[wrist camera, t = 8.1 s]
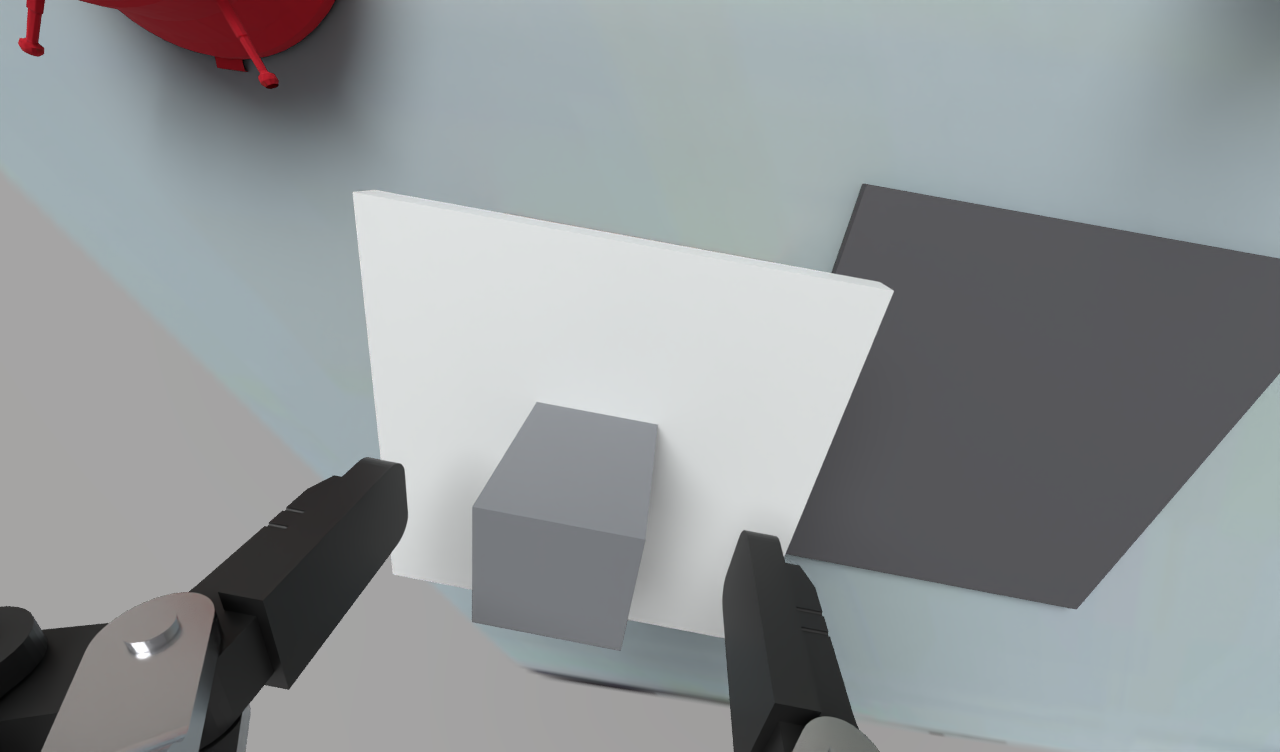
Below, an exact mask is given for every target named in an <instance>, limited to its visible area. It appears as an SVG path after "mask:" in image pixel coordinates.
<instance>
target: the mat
mask: <svg viewBox="0 0 1280 752" xmlns="http://www.w3.org/2000/svg"><path fill="white" fill-rule="evenodd" d="M832 273H833V274H839V275H844V276H850V277H855V278H861V279H866V280H872V281H877V282H881V283H882V284H884V285H886V286H887V287H889V288H890V289H892V290H893V291H894V292H893V295H892V297H891V300H890V302H889V304H888V307H887V309H886V312H885V314H884V317H883V319H882V321H881V324H880V326H879V329H878V331H877V333H876V336H875V338H874V341H873V343H872V346H871V348H870V350H869V353H868V355H867V358H866V360H865V363H864V365H863V367H862V370H861V372H860V375H859V377H858V379H857V382H856V384H855V387H854V389H853V392H852V394H851V396H850V399H849V401H848V404H847V406H846V408H845V411H844V413H843V416H842V418H841V421H840V423H839V425H838V428H837V430H836V433H835V435H834V438H833V440H832V442H831V445H830V447H829V450H828V452H827V454H826V457H825V459H824V462H823V464H822V467H821V469H820V471H819V474H818V476H817V479H816V481H815V484H814V486H813V488H812V491H811V493H810V496H809V498H808V500H807V503H806V505H805V508H804V510H803V513H802V515H801V517H800V520H799V522H798V525H797V527H796V529H795V532H794V534H793V537H792V539H791V542H790V544H789V546H788V549H787V551H786V554H789V555H794V556H800V557H805V558H810V559H815V560H821V561H826V562H831V563H836V564H842V565H847V566H852V567H857V568H863V569H868V570H873V571H878V572H883V573H889V574H894V575H899V576H904V577H910V578H915V579H920V580H925V581H931V582H936V583H941V584H946V585H952V586H957V587H962V588H967V589H973V590H978V591H983V592H988V593H994V594H999V595H1004V596H1009V597H1015V598H1020V599H1025V600H1030V601H1035V602H1041V603H1046V604H1051V605H1056V606H1062V607H1067V608H1072V609H1077V608H1078V607H1079V606H1080V605H1081V604H1082V602H1083V601H1084V600H1085V599H1086V598H1087V597H1088V596H1089V594H1090V593H1091V592H1092V591H1093V590H1094V589H1095V587H1096V586H1097V585H1098V584H1099V583H1100V582H1101V580H1102V579H1103V578H1104V577H1105V576H1106V575H1107V573H1108V572H1109V571H1110V570H1111V569H1112V568H1113V566H1114V565H1115V564H1116V563H1117V562H1118V561H1119V559H1120V558H1121V557H1122V556H1123V555H1124V554H1125V552H1126V551H1127V550H1128V549H1129V548H1130V547H1131V545H1132V544H1133V543H1134V542H1135V541H1136V540H1137V539H1138V537H1139V536H1140V535H1141V534H1142V533H1143V532H1144V530H1145V529H1146V528H1147V527H1148V526H1149V525H1150V523H1151V522H1152V521H1153V520H1154V519H1155V518H1156V516H1157V515H1158V514H1159V513H1160V512H1161V511H1162V509H1163V508H1164V507H1165V506H1166V505H1167V504H1168V502H1169V501H1170V500H1171V499H1172V498H1173V497H1174V495H1175V494H1176V493H1177V492H1178V491H1179V490H1180V489H1181V487H1182V486H1183V485H1184V484H1185V483H1186V482H1187V480H1188V479H1189V478H1190V477H1191V476H1192V475H1193V473H1194V472H1195V471H1196V470H1197V469H1198V468H1199V466H1200V465H1201V464H1202V463H1203V462H1204V461H1205V459H1206V458H1207V457H1208V456H1209V455H1210V454H1211V452H1212V451H1213V450H1214V449H1215V448H1216V447H1217V445H1218V444H1219V443H1220V442H1221V441H1222V440H1223V438H1224V437H1225V436H1226V435H1227V434H1228V433H1229V432H1230V430H1231V429H1232V428H1233V427H1234V426H1235V425H1236V423H1237V422H1238V421H1239V420H1240V419H1241V418H1242V416H1243V415H1244V414H1245V413H1246V412H1247V411H1248V409H1249V408H1250V407H1251V406H1252V405H1253V404H1254V402H1255V401H1256V400H1257V399H1258V398H1259V397H1260V395H1261V394H1262V393H1263V392H1264V391H1265V390H1266V388H1267V387H1268V386H1269V385H1270V384H1271V383H1272V382H1273V380H1274V379H1275V378H1276V377H1277V376H1278V375H1279V373H1280V259H1278V258H1272V257H1267V256H1261V255H1256V254H1250V253H1245V252H1239V251H1234V250H1228V249H1223V248H1217V247H1212V246H1206V245H1200V244H1195V243H1189V242H1184V241H1178V240H1173V239H1167V238H1162V237H1156V236H1151V235H1145V234H1139V233H1134V232H1128V231H1123V230H1117V229H1112V228H1106V227H1101V226H1095V225H1090V224H1084V223H1079V222H1073V221H1067V220H1062V219H1056V218H1051V217H1045V216H1040V215H1034V214H1029V213H1023V212H1018V211H1012V210H1006V209H1001V208H995V207H990V206H984V205H979V204H973V203H968V202H962V201H957V200H951V199H946V198H940V197H934V196H929V195H923V194H918V193H912V192H907V191H901V190H896V189H890V188H885V187H879V186H873V185H868V184H862V187H861V190H860V193H859V196H858V199H857V201H856V204H855V207H854V210H853V213H852V216H851V219H850V222H849V225H848V227H847V230H846V233H845V236H844V239H843V242H842V245H841V248H840V250H839V253H838V256H837V259H836V262H835V265H834V268H833V271H832Z"/></svg>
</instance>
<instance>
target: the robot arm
mask: <svg viewBox="0 0 1280 752" xmlns="http://www.w3.org/2000/svg"><path fill="white" fill-rule="evenodd" d="M407 521H408V506H407V493H406V481H405V470H404V467H403V465H402V464H400V463H396V462H390V461H385V460H380V459H375V458H369V457H366V458H363V459H361V460H360V461H359V462H358V463H356V464H355V465H354V466H353V467H352V468H351V469H350V470H349V471H348V472H347V473H346V474H345V475H343V476H342V477H339V476H332V477H330V478H328V479H326V480H324V481H322V482H320V483H318V484H316V485H314V486H312V487H310V488H308V489H307V490H306V491H304V492H303V493H302V494H301V495H300V496H299V497H298V498H296V499H295V500H294V501H293V502H292V503H291V504H290V505H288V506H287V508H286V510H285V511H282V512H281V513H279V514H278V515H277V516H276V517H275V518H274V519H272V520H271V521H270V522H269V525H268V526H267V527H266V526H264V527H263V528H262V529H261V530H260V531H259V532H258V533H256V534H255V535H254V536H253V537H252V538H251V539H249V540H248V541H247V542H246V543H245V544H244V545H243V546H241V547H240V548H239V549H238V550H237V551H236V552H234V553H233V554H232V555H231V556H230V557H229V558H228V559H226V560H225V561H224V562H223V563H222V564H221V565H220V566H218V567H217V568H216V569H215V570H214V571H213V572H212V573H211V574H209V575H208V576H207V577H206V578H205V579H204V580H202V581H201V582H200V583H199V584H198V585H197V586H195V587H194V588H193V589H192V590H190V591H189V592H183V593H173V594H169V595H164V596H161V597H157V598H154V599H151V600H149V601H146V602H144V603H142V604H140V605H137V606H135V607H133V608H131V609H130V610H128V611H126V612H124V613H123V614H121V615H120V616H118V617H117V618H115V619H114V620H113V621H111V622H110V623H106V624H96V625H85V626H75V627H66V628H56V629H46V630H41V628H40V627H39V625H38V624H37V622H36V621H35V619H34V617H33V616H32V614H31V613H30V612H29V611H27V610H26V609H23V608H19V607H10V606H8V607H7V606H6V607H0V752H246V744H247V736H248V729H249V721H250V709H251V708H250V705H249V703H250V702H251V701H252V700H253V698H254V697H255V696H256V695H257V693H258V692H259V691H260V690H261V688H262V687H263V686H264V685H268V686H273V687H278V688H283V689H288V690H289V689H290V687H291V686H292V685H293V683H294V682H295V681H296V679H297V678H298V677H299V675H300V674H301V673H302V671H303V670H304V669H305V667H306V666H307V665H308V663H309V662H310V661H311V659H312V658H313V657H314V655H315V654H316V653H317V651H318V650H319V649H320V647H321V646H322V645H323V643H324V642H325V641H326V639H327V638H328V637H329V635H330V634H331V633H332V631H333V630H334V629H335V627H336V626H337V625H338V623H339V622H340V621H341V619H342V618H343V616H344V615H345V614H346V613H347V611H348V610H349V609H350V607H351V606H352V605H353V603H354V602H355V601H356V599H357V598H358V597H359V595H360V594H361V592H362V591H363V590H364V589H365V587H366V586H367V585H368V583H369V582H370V581H371V579H372V578H373V577H374V575H375V574H376V573H377V571H378V570H379V569H380V567H381V566H382V565H383V563H384V562H385V560H386V559H387V558H388V557H389V555H390V554H391V553H392V551H393V550H394V549H395V547H396V546H397V544H398V543H399V542H400V540H401V538H402V536H403V534H404V531H405V529H406V525H407ZM722 609H723V622H724V634H725V647H726V659H727V672H728V684H729V697H730V709H731V720H732V734H733V746H734V752H879V750H878V749H877V747H876V746H875V745H874V744H873V743H872V742H871V740H870V739H868V737H867V736H866V735H865V734H863V733H862V732H861V731H860V730H859V728H858V726H857V724H856V721H855V718H854V716H853V712H852V709H851V706H850V702H849V699H848V696H847V692H846V689H845V686H844V682H843V679H842V676H841V672H840V669H839V666H838V662H837V659H836V656H835V652H834V649H833V646H832V642H831V639H830V637H828V629H827V626H826V622H825V619H824V616H822V609H821V606H820V602H819V599H818V596H817V592H816V589H815V587H814V585H813V584H812V583H811V581H810V580H809V578H808V577H807V576H806V574H805V573H804V571H803V570H802V568H801V567H800V566H799V565H793V564H788V563H785V560H784V556H783V552H782V548H781V544H780V540H779V538H778V537H777V536H773V535H768V534H763V533H757V532H752V531H747V530H743V531H742V532H741V534H740V536H739V539H738V542H737V545H736V548H735V551H734V554H733V556H732V559H731V562H730V565H729V568H728V571H727V574H726V577H725V581H724V586H723V595H722Z"/></svg>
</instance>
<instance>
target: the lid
mask: <svg viewBox="0 0 1280 752" xmlns="http://www.w3.org/2000/svg"><path fill="white" fill-rule="evenodd" d="M353 201H354V210H355V220H356V229H357V239H358V248H359V258H360V267H361V277H362V286H363V295H364V305H365V314H366V324H367V333H368V343H369V352H370V362H371V371H372V381H373V390H374V400H375V409H376V418H377V428H378V437H379V447H380V456H381V460H385V461H390V462H396V463H400V464H402V465H403V467H404V470H405V481H406V493H407V506H408V521H407V525H406V529H405V531H404V534H403V536H402V538H401V540H400V542H399V543H398V544H397V546H396V547H395V549H394V550H393V551H392V553H391V560H392V570H393V575H399V576H404V577H409V578H414V579H419V580H425V581H430V582H435V583H440V584H445V585H450V586H456V587H461V588H466V589H471V590H472V622H475V623H480V624H485V625H490V626H495V627H500V628H505V629H511V630H516V631H521V632H526V633H531V634H536V635H542V636H547V637H552V638H557V639H562V640H567V641H573V642H578V643H583V644H588V645H593V646H598V647H603V648H609V649H614V650H619V651H621V647H622V642H623V638H624V634H625V629H626V625H627V620H632V621H637V622H642V623H647V624H653V625H658V626H663V627H668V628H673V629H678V630H684V631H689V632H694V633H699V634H704V635H710V636H715V637H720V638H725V634H724V622H723V609H722V595H723V586H724V581H725V577H726V574H727V571H728V568H729V565H730V562H731V559H732V556H733V554H734V551H735V548H736V545H737V542H738V539H739V536H740V534H741V532H742V531H743V530H747V531H752V532H757V533H763V534H768V535H773V536H777V537H778V538H779V540H780V544H781V548H782V552H783V556H785V554H786V551H787V549H788V546H789V544H790V542H791V539H792V537H793V534H794V532H795V529H796V527H797V525H798V522H799V520H800V517H801V515H802V513H803V510H804V508H805V505H806V503H807V500H808V498H809V496H810V493H811V491H812V488H813V486H814V484H815V481H816V479H817V476H818V474H819V471H820V469H821V467H822V464H823V462H824V459H825V457H826V454H827V452H828V450H829V447H830V445H831V442H832V440H833V438H834V435H835V433H836V430H837V428H838V425H839V423H840V421H841V418H842V416H843V413H844V411H845V408H846V406H847V404H848V401H849V399H850V396H851V394H852V392H853V389H854V387H855V384H856V382H857V379H858V377H859V375H860V372H861V370H862V367H863V365H864V363H865V360H866V358H867V355H868V353H869V350H870V348H871V346H872V343H873V341H874V338H875V336H876V333H877V331H878V329H879V326H880V324H881V321H882V319H883V317H884V314H885V312H886V309H887V307H888V304H889V302H890V300H891V297H892V295H893V292H894V291H893V290H892V289H890V288H889V287H887V286H886V285H884V284H882V283H881V282H877V281H872V280H866V279H861V278H855V277H850V276H844V275H839V274H833V273H828V272H823V271H817V270H812V269H806V268H801V267H795V266H790V265H784V264H779V263H773V262H768V261H762V260H757V259H751V258H746V257H740V256H735V255H729V254H724V253H718V252H713V251H707V250H702V249H696V248H691V247H685V246H680V245H674V244H669V243H663V242H658V241H653V240H647V239H642V238H636V237H631V236H625V235H620V234H614V233H609V232H603V231H598V230H592V229H587V228H581V227H576V226H570V225H565V224H559V223H554V222H548V221H543V220H537V219H532V218H526V217H521V216H515V215H510V214H504V213H499V212H493V211H488V210H483V209H477V208H472V207H466V206H461V205H455V204H450V203H444V202H439V201H433V200H428V199H422V198H417V197H411V196H406V195H400V194H395V193H389V192H384V191H378V190H368V191H358V192H353Z"/></svg>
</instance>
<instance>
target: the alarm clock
mask: <svg viewBox="0 0 1280 752" xmlns="http://www.w3.org/2000/svg"><path fill="white" fill-rule="evenodd" d="M80 1H83V2H87V3H91V4H95V5H99V6H103V7H109V8H114V9H118V10H119V11H121V12H122V13H123V14H124V15H126V16H127V17H128V18H130V19H131V20H132V21H134V22H135V23H137V24H138V25H140V26H141V27H143V28H144V29H146V30H147V31H149V32H151V33H153V34H155V35H156V36H158V37H160V38H162V39H164V40H166V41H168V42H170V43H173V44H175V45H177V46H180V47H182V48H185V49H188V50H191V51H194V52H198V53H202V54H207V55H211V56H215V60H216V64H217V68H222V69H229V70H237V71H244V72H248V71H245V69H244V65H243V61H242V59H252V61H253V63H254V64H255V66H256V68H257V69H258V71H259V72H260V75H259V76H258V79H259V81H260V83H261V85H263V86H264V87H266V88H268V89H272V88H276V87H277V86H278V82H279V80H278V79H277V77H276V76H275V74H273V73H270V72H268V71H267V69H266V67H265V66H264V64H263V62H262V60H261V57H267V56H270V55H274V54H277V53H279V52H282V51H284V50H286V49H288V48H290V47H291V46H293V45H295V44H297V43H298V42H300V41H301V40H302V39H304V38H305V37H306V36H307V35H308V34H309V33H311V32H312V31H313V30H314V29H315V28H316V27H317V26H318V25H319V23H320V22H321V21H322V20H323V19H324V17H325V16H326V15H327V14H328V12H329V11H330V9H331V7H332V5H333V4H334V2H335V0H80ZM44 3H45V0H27V4H26V7H27V8H28V16H27V33H26V38H20V39H19V42H18V44H19V46H20V47H21V49H22V50H23V51H24V52H26V53H28V54H30V55H33V56H41V55H43V54H44V48H43V47H42V46H41V45H40V44H39V43H38V40H39V32H40V24H41V17H42V14H43V11H44Z"/></svg>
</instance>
